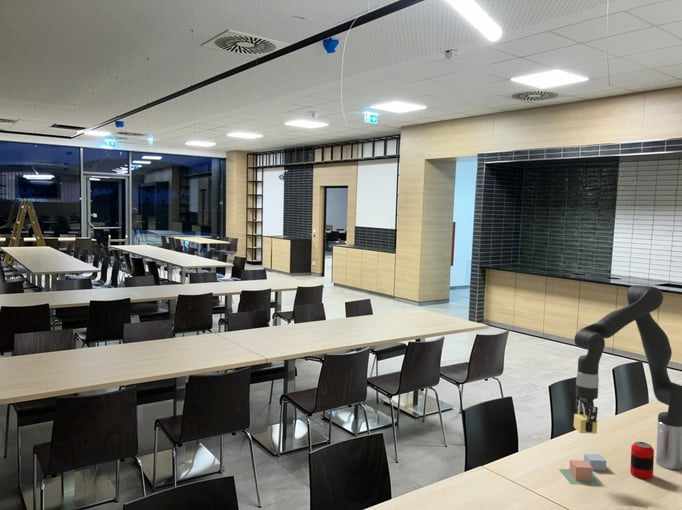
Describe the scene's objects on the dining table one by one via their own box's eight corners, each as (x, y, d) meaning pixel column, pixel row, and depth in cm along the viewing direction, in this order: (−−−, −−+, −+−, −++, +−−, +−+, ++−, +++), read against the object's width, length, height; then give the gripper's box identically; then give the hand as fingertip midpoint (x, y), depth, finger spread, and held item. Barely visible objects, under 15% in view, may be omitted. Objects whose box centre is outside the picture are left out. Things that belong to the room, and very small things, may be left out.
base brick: (585, 473, 202) (585, 460, 202) (592, 480, 196) (592, 467, 196) (569, 472, 203) (569, 460, 202) (575, 480, 197) (576, 467, 196)
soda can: (650, 472, 206) (651, 442, 205) (655, 481, 198) (656, 450, 198) (628, 469, 208) (629, 439, 207) (632, 478, 201) (633, 447, 200)
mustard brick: (589, 427, 201) (590, 414, 200) (596, 433, 195) (597, 420, 194) (573, 426, 201) (574, 414, 201) (580, 433, 195) (580, 419, 195)
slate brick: (598, 466, 211) (599, 454, 211) (605, 473, 205) (606, 460, 205) (583, 465, 211) (584, 453, 211) (590, 472, 205) (590, 460, 205)
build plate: (590, 472, 205) (590, 469, 205) (603, 487, 193) (604, 485, 193) (558, 471, 206) (558, 468, 206) (570, 486, 194) (570, 484, 194)
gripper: (606, 390, 190) (604, 436, 190) (589, 379, 204) (586, 421, 205) (585, 389, 190) (582, 435, 191) (569, 378, 204) (567, 421, 205)
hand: (585, 428), depth 198 cm, fingers closed on mustard brick, 6 cm apart
